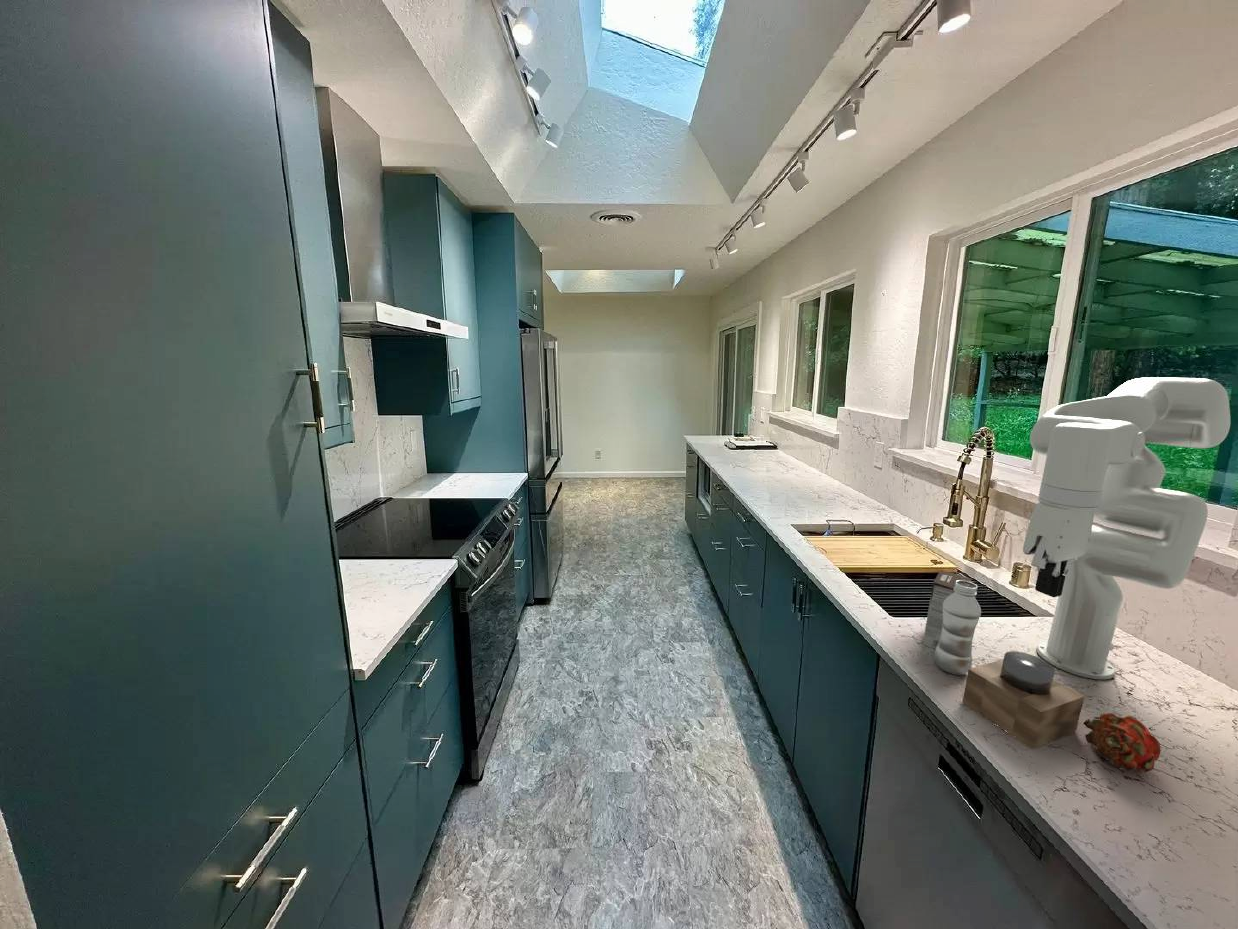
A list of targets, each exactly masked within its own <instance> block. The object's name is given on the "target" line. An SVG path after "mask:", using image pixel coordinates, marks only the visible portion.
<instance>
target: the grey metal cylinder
mask: <svg viewBox="0 0 1238 929" xmlns="http://www.w3.org/2000/svg"><path fill="white" fill-rule="evenodd" d="M1003 659H1004V660H1003V665H1002V669H1001V677H1002V679H1003V680H1004V681H1005V682H1007V683H1008V684H1009V685H1011V686H1013V687H1015V688H1017V689H1019V690H1021V691H1024V692H1027V693H1029V694H1031V695H1033V694H1035V695H1047V694H1049V693H1050V689H1051V685H1052V681H1053V680H1054V676H1055V672H1056V670H1055V668H1054V667H1053V665H1052V664H1050V663H1049V662H1047V661H1046V660H1044V659H1043V658H1041V657H1040V658H1039V657H1037V656H1036V655H1033V654H1029V653H1027V652H1022V651H1014V650H1011V651H1007V652H1005V653H1004V657H1003Z"/></svg>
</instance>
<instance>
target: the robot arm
mask: <svg viewBox="0 0 1238 929" xmlns="http://www.w3.org/2000/svg"><path fill="white" fill-rule="evenodd" d="M1231 424H1232V423H1231V409H1230V399H1229V395H1228V392H1227V390H1226V388H1225V387H1224V386H1223V385H1222V384H1221V383H1220V382H1218V381H1216V380H1213V379H1209V378H1200V377H1199V378H1196V377H1191V378H1190V377H1158V376H1157V377H1152V376H1151V377H1147V376H1146V377H1140V378H1134V379H1133V378H1132V379H1131V380H1127V381H1126V382H1124V383H1123V384H1121V385H1119V386H1118V387H1117V388H1115V389H1114V390H1113V391H1112V392H1110V393H1109V394H1108V395H1107V396H1101V397H1096V398H1095V397H1094V398H1092V399H1086V400H1081V401H1080V400H1079V401H1073V402H1068V403H1065V404H1064V403H1063V404H1060V405H1057V406H1056V407H1053V408H1051V409H1050V410H1049V411H1047V412H1046V413H1045V414H1043V415H1041V417H1040V418H1039V419H1038V420H1037V421H1036V422H1035V424H1034V425H1033V427H1032V429H1031V432H1030V435H1029V444H1030V445H1031V447H1032V449H1033V450H1034V451H1035V452H1037V453H1038V454H1041V455H1042V456H1046V458H1045V463H1044V468H1043V472H1042V473H1043V474H1042V478H1041V482H1040V487H1039V488H1040V489H1039V493H1038V498H1037V501H1038V502H1037V503H1036V505H1035V507H1034V509H1033V511H1032V515H1031V517H1030V520H1029V523H1028V527H1027V530H1026V534H1025V538H1024V542H1023V545H1022V553H1023V554H1024V555H1026V556H1029V555H1033V557H1032V561H1031V564H1030V565H1031V566H1033V567H1035V568H1036V569H1037V572H1038V573H1037V576H1036V581H1035V587H1034V589H1035V591H1036V592H1038V593H1042V594H1044V595H1046V596H1049V597H1051V598H1057V602H1056V605H1055V610H1054V614H1053V618H1052V623H1051V627H1050V631H1049V635H1048V639H1047V640H1046V641H1045V640H1044V641H1041V642H1039V643H1038V644H1037V646H1036V652H1037V654H1038V655H1039V656H1040V658H1041V659H1042V660H1044V661H1046V662H1047V663H1049V664H1050V665H1051V666H1054V667H1056V668H1058V669H1060V670H1061V671H1064V672H1068V673H1069V674H1072V675H1076V676H1078V677H1083V678H1087V679H1091V680H1110V679H1112V678H1114V676H1115V673H1116V668H1115V667H1114V665H1113V664H1112V663H1110V662H1109V661H1108V657H1109V653H1110V651H1114V649H1115V646H1114V644H1113V643H1112V642H1113V639H1114V634H1115V630H1116V627H1117V624H1118V620H1119V616H1120V612H1121V608H1122V605H1123V600H1124V597H1123V592H1122V590H1121V587H1120V586H1119V584H1118V582H1117V580H1116V579H1115V578H1114V577H1116V578H1121V579H1124V580H1127V581H1128V580H1129V581H1131V582H1135V583H1138V584H1142V585H1147V586H1150V587H1153V588H1159V589H1163V590H1166V589H1167V590H1168V589H1169V590H1171V589H1175V588H1177V587H1179V586H1180V585H1181V584H1182V582H1183V581H1184V580H1185V578H1186V576H1187V574H1188V571H1189V570H1190V567H1191V563H1192V561H1193V559H1194V556H1195V555H1196V551H1197V549H1198V545H1199V543H1200V542H1201V537H1202V535H1203V533H1204V530H1205V528H1206V524H1207V520H1208V514H1209V513H1208V505H1207V503H1206V501H1205V500H1204V499H1203V498H1201V497H1200V496H1198V495H1197V494H1196V495H1195V494H1193V493H1189V492H1183V491H1178V490H1172V489H1165V488H1161V486H1162V482H1163V480H1164V478H1165V475H1166V467H1165V466H1164V463H1163V462H1162V460H1160V459H1159V457H1158V456H1157V455H1156V454H1155V453H1154V452H1153V451H1152V450H1151V449H1150V448H1149V447H1147V446H1146V443H1147V444H1152V445H1153V444H1154V445H1155V444H1156V445H1163V446H1173V447H1180V448H1181V447H1183V448H1192V449H1210V448H1214V447H1217V446H1219V445H1220V444H1221V443H1222V442H1223V441H1225V439H1226V438H1227V436H1228V434H1229V432H1230V428H1231ZM1094 519H1095V520H1096V521H1098V522H1100V523H1102V524H1106V525H1109V526H1113V527H1109V526H1104V525H1100V524H1094ZM1114 527H1117V528H1114ZM1120 528H1121V529H1120ZM1123 529H1125V530H1123ZM1128 530H1131V531H1128ZM1132 531H1136V532H1141V533H1145V534H1149V535H1145V534H1139V533H1136V532H1132ZM1150 535H1154V536H1158V537H1160V538H1158V537H1154V536H1150Z"/></svg>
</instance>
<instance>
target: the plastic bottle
mask: <svg viewBox="0 0 1238 929" xmlns="http://www.w3.org/2000/svg"><path fill="white" fill-rule="evenodd" d="M953 590H954V591H955V592H954V593H952V594H951V595H949V596H948V597H947V598H946V599H945V600H944V602H943V625H942V626H943V627H942V633H941V637H940V640H939V644H938V645H937V647H936V649H935V650H934V655H933V656H934V662H935V664H936V665H937V667H938V668H940V669H941V670H943V671H944V672H947V673H949V674H953V675H958V676H959V675H960V676H962V675H965V674H968V670H969V669H970V668H972V667H973V655H972V651H973V639H974V635H975V631H976V628H977V625H978V623H979V620H980V618H981V614H982V609H981V605H980V604H979V602H978V601H977V599H976V596H977V594H978V593H977V592H978V591H977V590H978V585H977V584H975V583H973V582H972V581H971V582H968V581H961V580H959V581H956V583H955V587H954V589H953Z"/></svg>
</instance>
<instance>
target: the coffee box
mask: <svg viewBox="0 0 1238 929" xmlns="http://www.w3.org/2000/svg"><path fill="white" fill-rule="evenodd" d="M959 580H961V581H968V582H971V583H972V580H973V579H972V578H970V577H966V576H962V575H960V574H957V573H953V572H950V571H945V570H940V571H939V572H938V573H937V575H936V577H935V579H934V580H933V582H932V587H931V594H930V599H929V606H928V611H927V615H926V616H927V617H926V622H925V627H924V634H923V639H922V645H924V646H925V647H926V646H927V647H929V648H931V649H935V650H936V647H937V645H938V644H939V640H940V637H941V633H942V627H943V626H942V625H943V602H944V600H945V599H946V598H947V597H948V596H949V595H951V594H952V593H954V592H955V591H954V590H953V589H954V587H955V583H956V581H959Z"/></svg>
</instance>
